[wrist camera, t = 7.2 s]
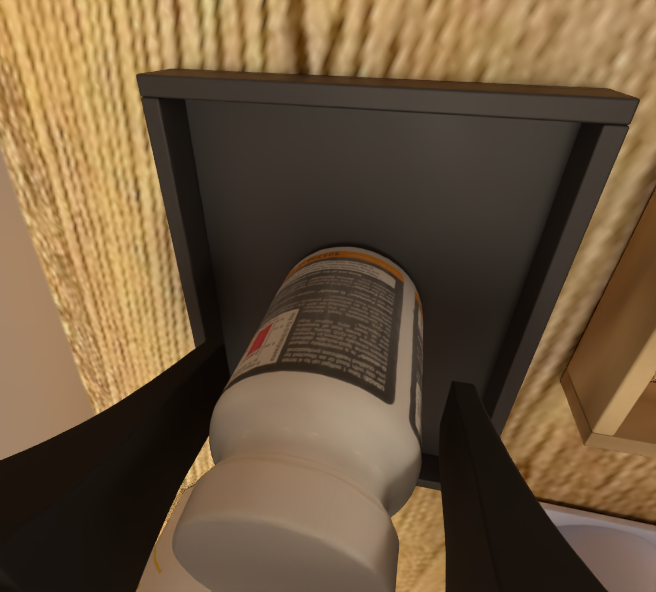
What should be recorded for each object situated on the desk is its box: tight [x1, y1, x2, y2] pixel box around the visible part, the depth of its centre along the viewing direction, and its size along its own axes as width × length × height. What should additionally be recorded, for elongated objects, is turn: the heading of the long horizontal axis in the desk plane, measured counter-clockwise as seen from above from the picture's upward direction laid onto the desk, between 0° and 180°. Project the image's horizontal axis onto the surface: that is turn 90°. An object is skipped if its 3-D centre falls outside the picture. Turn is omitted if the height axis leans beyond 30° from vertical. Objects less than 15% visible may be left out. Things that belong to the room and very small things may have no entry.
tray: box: [136, 69, 640, 491], centre depth 16 cm, size 17×13×2 cm
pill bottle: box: [172, 247, 423, 592], centre depth 12 cm, size 6×6×10 cm
